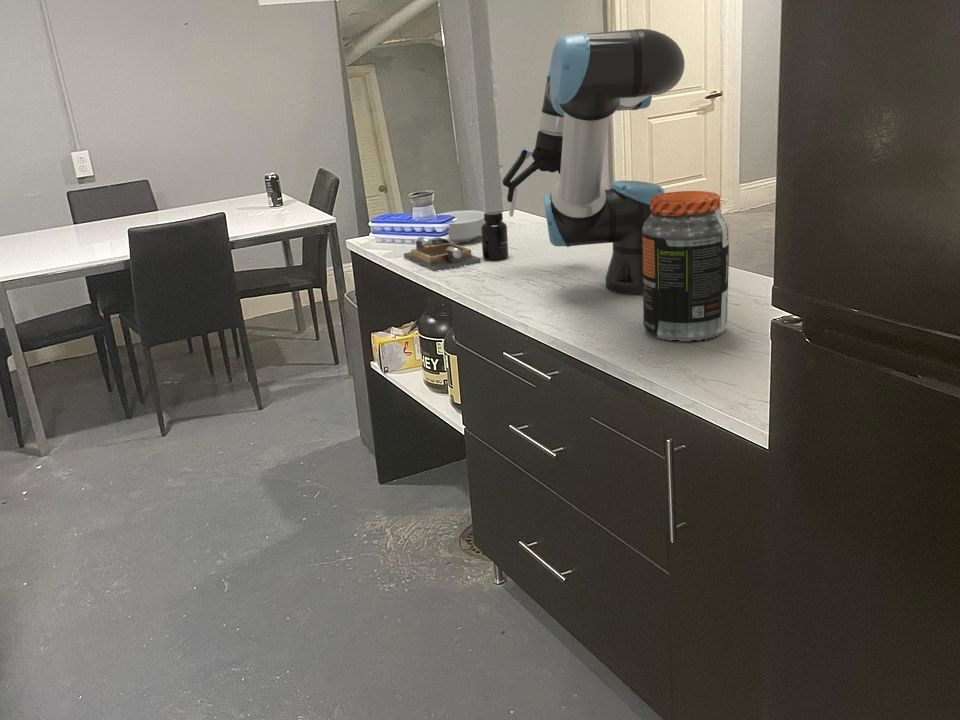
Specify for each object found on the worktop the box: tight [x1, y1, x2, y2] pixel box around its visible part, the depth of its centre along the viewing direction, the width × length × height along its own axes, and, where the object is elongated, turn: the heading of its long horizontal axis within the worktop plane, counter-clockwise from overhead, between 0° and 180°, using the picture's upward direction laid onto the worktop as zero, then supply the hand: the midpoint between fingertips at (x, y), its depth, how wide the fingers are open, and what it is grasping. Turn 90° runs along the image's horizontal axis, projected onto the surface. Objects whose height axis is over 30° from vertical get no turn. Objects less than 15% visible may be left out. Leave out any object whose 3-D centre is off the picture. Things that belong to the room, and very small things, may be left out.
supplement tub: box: [642, 190, 730, 342], centre depth 169 cm, size 16×16×26 cm
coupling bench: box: [403, 236, 482, 272], centre depth 239 cm, size 21×13×5 cm, turn 28°
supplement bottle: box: [481, 211, 509, 262], centre depth 236 cm, size 7×7×12 cm
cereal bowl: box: [436, 209, 486, 243], centre depth 260 cm, size 17×17×7 cm
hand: (538, 218), depth 222 cm, fingers open, 13 cm apart
